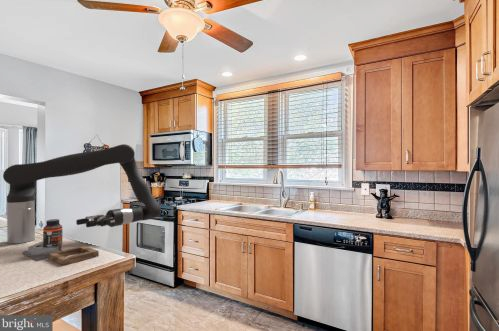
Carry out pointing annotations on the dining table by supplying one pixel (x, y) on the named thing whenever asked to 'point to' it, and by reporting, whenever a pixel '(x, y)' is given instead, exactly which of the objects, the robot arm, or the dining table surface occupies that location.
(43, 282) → the dining table surface
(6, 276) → the dining table surface
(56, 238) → the supplement bottle
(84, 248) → the frame
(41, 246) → the metal v block
